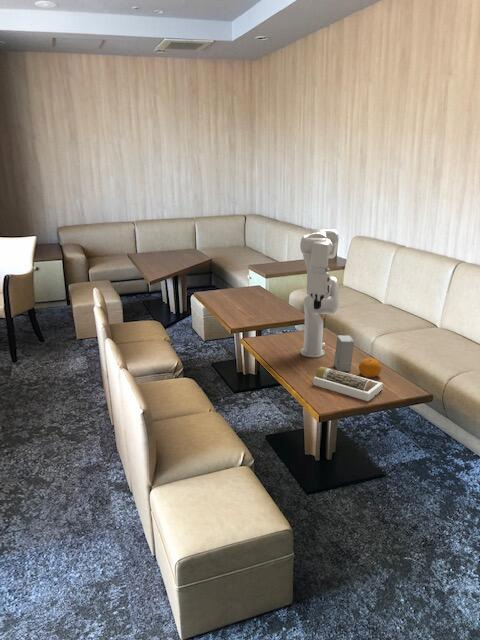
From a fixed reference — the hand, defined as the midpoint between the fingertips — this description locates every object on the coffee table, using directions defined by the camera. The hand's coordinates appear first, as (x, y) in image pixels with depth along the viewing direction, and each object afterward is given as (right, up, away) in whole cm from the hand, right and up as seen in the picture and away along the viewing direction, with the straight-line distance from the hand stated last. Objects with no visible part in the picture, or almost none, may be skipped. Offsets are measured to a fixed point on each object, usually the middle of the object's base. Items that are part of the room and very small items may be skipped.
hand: (317, 308), depth 242 cm
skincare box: (+15, -29, +17) cm, 37 cm away
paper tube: (+1, -30, +2) cm, 30 cm away
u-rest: (+12, -35, -4) cm, 38 cm away
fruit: (+26, -32, +8) cm, 42 cm away
